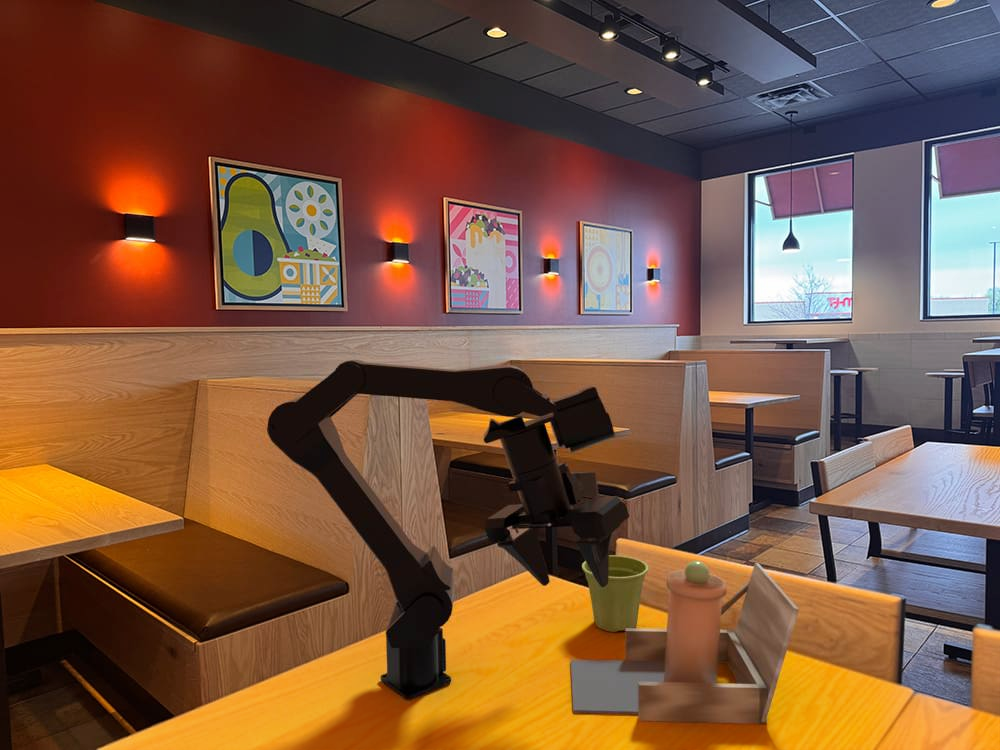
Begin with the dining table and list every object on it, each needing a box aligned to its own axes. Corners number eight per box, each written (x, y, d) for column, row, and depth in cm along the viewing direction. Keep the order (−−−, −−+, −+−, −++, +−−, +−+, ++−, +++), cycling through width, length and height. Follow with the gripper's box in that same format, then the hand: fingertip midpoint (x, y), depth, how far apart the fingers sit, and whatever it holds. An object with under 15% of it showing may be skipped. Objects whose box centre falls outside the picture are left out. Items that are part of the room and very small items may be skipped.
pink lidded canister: (697, 708, 79) (706, 575, 78) (648, 683, 84) (656, 558, 83) (730, 690, 83) (739, 564, 82) (682, 667, 88) (690, 548, 87)
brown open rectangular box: (639, 720, 77) (638, 606, 76) (624, 655, 92) (624, 559, 91) (797, 724, 75) (798, 608, 75) (756, 658, 91) (757, 560, 90)
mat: (573, 712, 78) (573, 710, 78) (570, 661, 90) (570, 659, 90) (682, 715, 78) (682, 712, 78) (665, 663, 90) (665, 661, 89)
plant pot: (630, 644, 95) (629, 581, 95) (570, 627, 101) (570, 568, 100) (659, 621, 103) (659, 562, 102) (602, 606, 108) (602, 551, 108)
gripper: (631, 433, 84) (671, 554, 85) (519, 450, 97) (555, 555, 98) (579, 467, 76) (624, 600, 77) (465, 481, 89) (504, 595, 90)
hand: (574, 584), depth 86 cm, fingers open, 9 cm apart
